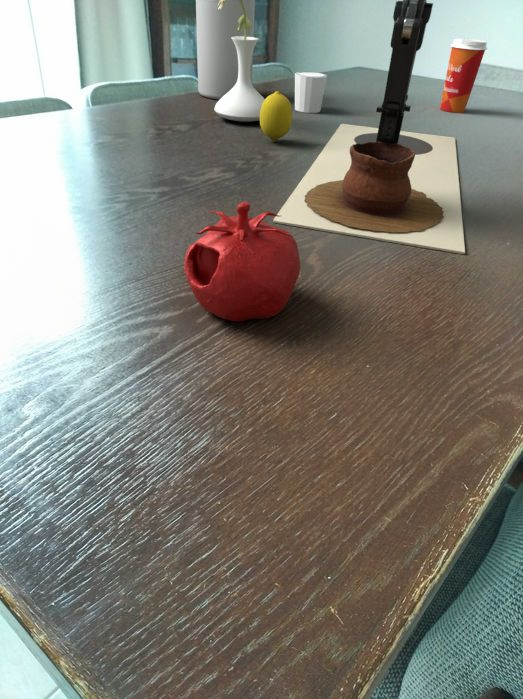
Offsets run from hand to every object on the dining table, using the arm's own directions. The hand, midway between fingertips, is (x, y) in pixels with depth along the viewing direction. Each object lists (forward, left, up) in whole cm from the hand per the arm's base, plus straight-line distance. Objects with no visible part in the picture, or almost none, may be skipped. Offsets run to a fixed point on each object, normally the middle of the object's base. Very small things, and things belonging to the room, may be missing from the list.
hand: (382, 165), depth 65 cm
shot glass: (+20, -47, -4) cm, 52 cm away
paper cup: (-11, -65, -4) cm, 66 cm away
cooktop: (0, -11, -4) cm, 12 cm away
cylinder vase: (+41, -52, -4) cm, 67 cm away
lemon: (+20, -19, -4) cm, 28 cm away
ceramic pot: (0, +5, -4) cm, 6 cm away
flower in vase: (+30, -31, -4) cm, 44 cm away
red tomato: (+9, +33, -4) cm, 34 cm away
